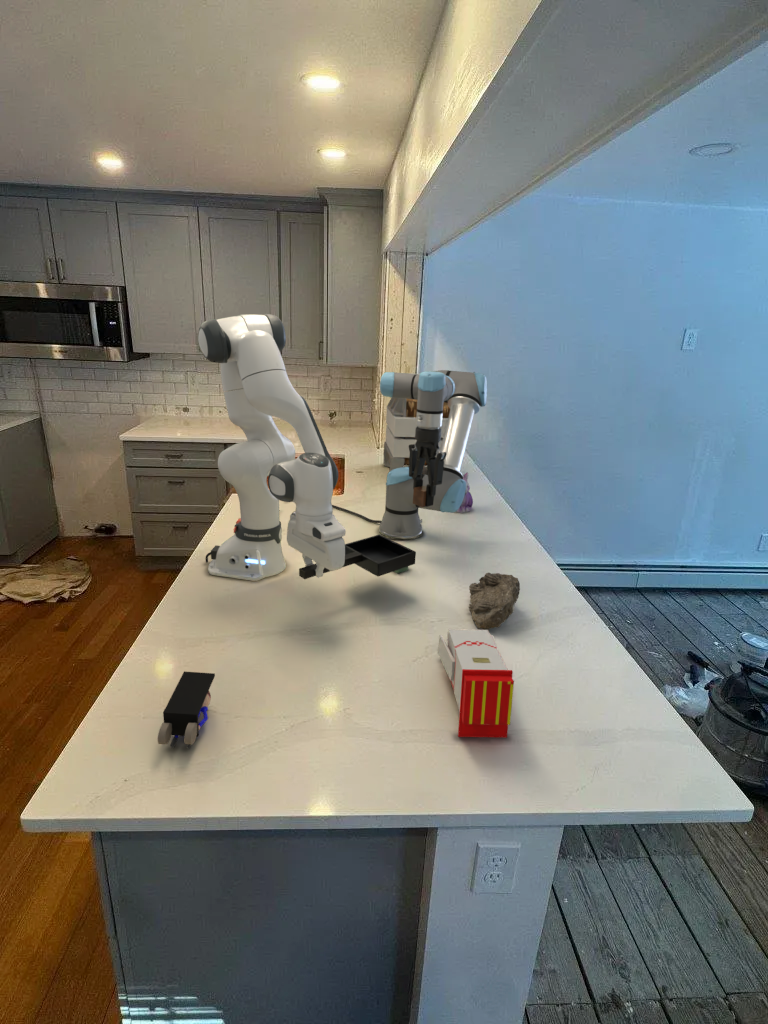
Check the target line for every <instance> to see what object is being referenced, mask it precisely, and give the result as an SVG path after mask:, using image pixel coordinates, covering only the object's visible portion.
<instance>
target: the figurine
mask: <svg viewBox="0 0 768 1024" xmlns="http://www.w3.org/2000/svg"><path fill="white" fill-rule="evenodd" d="M468 479H469V473H468V472H465V473H464V474H463V480H465V482H466V490H465V495H464V498H463V501H462V504H461V506H460V508H459V509H458V510H457V511H456V512H455V513H462V514H463V513H468V512H470V511H471V510H472V509H473V505H474V499H473V496H472V494H471V492H470V489H471V487H470V484H469V482H468Z"/></svg>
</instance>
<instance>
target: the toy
mask: <svg viewBox="0 0 768 1024" xmlns="http://www.w3.org/2000/svg"><path fill="white" fill-rule="evenodd" d="M446 640H447V643H446V641H445V639H444V636H443V635H442V634H439V637H438V646H437V656H438V657H439V659H440V661H441V663H442V666H443V668H444V670H445V672H446V674H447V677H448V679H449V681H450V684H451V687H452V690H453V693H454V697H455V701H456V705H457V708H458V711H459V714H458V715H459V716H458V730H457V731H458V732H457V737H458V738H508V731H509V726H510V725H511V717H512V707H513V697H514V696H513V695H514V684H515V680H514V679H513V673H514V671H513V670H512V669H508V667H507V665H506V662H505V661H504V659H503V658H502V655H501V653H500V651H499V649H498V647H497V643H496V639H495V637H494V635H493V634H491V632H490V631H489V629H487V630H483V629H467V628H466V629H465V628H463V629H461V628H460V629H459V628H448V630H447V639H446Z"/></svg>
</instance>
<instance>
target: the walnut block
mask: <svg viewBox="0 0 768 1024" xmlns="http://www.w3.org/2000/svg"><path fill="white" fill-rule="evenodd" d="M425 502H426V486H420V487H415V488H414V491H413V504H415V505H418V506H420V507H426V506H425Z"/></svg>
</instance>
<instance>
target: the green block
mask: <svg viewBox="0 0 768 1024" xmlns="http://www.w3.org/2000/svg"><path fill="white" fill-rule="evenodd" d="M407 571H409V566H407V567H404V568H402V569H399V570H396V571H393V572H394V573H395V574H400V573H404V572H407Z"/></svg>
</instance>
